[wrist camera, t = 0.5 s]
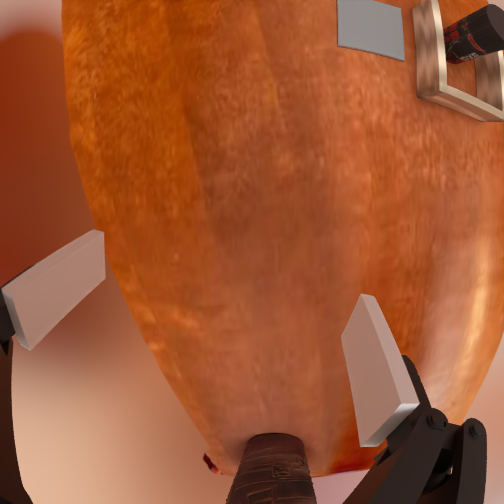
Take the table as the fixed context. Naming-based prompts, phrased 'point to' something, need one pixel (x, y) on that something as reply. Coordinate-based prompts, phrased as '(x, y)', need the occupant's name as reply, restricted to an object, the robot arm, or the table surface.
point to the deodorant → (475, 35)
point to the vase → (273, 473)
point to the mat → (370, 27)
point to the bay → (435, 76)
